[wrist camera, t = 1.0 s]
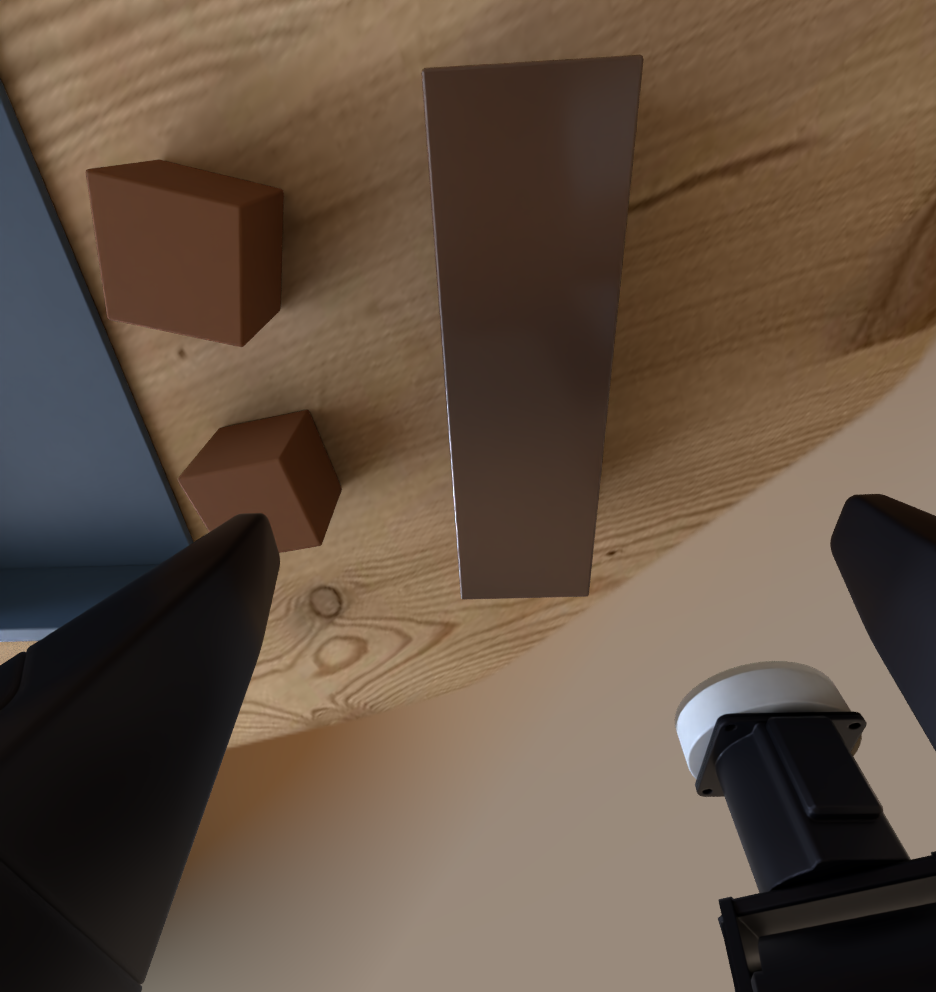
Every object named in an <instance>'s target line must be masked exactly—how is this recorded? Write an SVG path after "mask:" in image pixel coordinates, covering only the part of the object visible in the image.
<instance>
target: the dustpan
mask: <svg viewBox="0 0 936 992" xmlns="http://www.w3.org/2000/svg"><path fill="white" fill-rule="evenodd" d="M192 543H193V540H192V537H191V535H190V533H189V530H188V528H187V525H186V523H185V521H184V518H183V516H182V513H181V511H180V509H179V506H178V504H177V501H176V499H175V497H174V494H173V492H172V489H171V487H170V485H169V482H168V480H167V477H166V475H165V473H164V470H163V468H162V465H161V463H160V461H159V458H158V456H157V453H156V451H155V449H154V446H153V444H152V441H151V439H150V437H149V434H148V432H147V429H146V427H145V425H144V422H143V420H142V417H141V415H140V413H139V410H138V408H137V405H136V403H135V401H134V398H133V396H132V393H131V391H130V388H129V386H128V384H127V381H126V379H125V376H124V374H123V372H122V369H121V367H120V364H119V362H118V360H117V357H116V355H115V352H114V350H113V348H112V345H111V343H110V340H109V338H108V336H107V333H106V331H105V328H104V326H103V324H102V321H101V319H100V316H99V314H98V312H97V309H96V307H95V304H94V302H93V300H92V297H91V295H90V292H89V290H88V288H87V285H86V283H85V280H84V278H83V276H82V273H81V271H80V268H79V266H78V264H77V261H76V259H75V256H74V254H73V252H72V249H71V247H70V244H69V242H68V240H67V237H66V235H65V232H64V230H63V227H62V225H61V223H60V220H59V218H58V215H57V213H56V211H55V208H54V206H53V203H52V201H51V199H50V196H49V194H48V191H47V189H46V187H45V184H44V182H43V179H42V177H41V175H40V172H39V170H38V167H37V165H36V163H35V160H34V158H33V155H32V153H31V151H30V148H29V146H28V143H27V141H26V139H25V136H24V134H23V131H22V129H21V127H20V124H19V122H18V119H17V117H16V115H15V112H14V110H13V107H12V105H11V103H10V100H9V98H8V95H7V93H6V91H5V88H4V86H3V83H2V81H1V79H0V642H13V641H39V640H41V639H43V638H44V637H46V636H47V635H49V634H50V633H52V632H54V631H55V630H57V629H58V628H60V627H61V626H63V625H65V624H66V623H68V622H69V621H71V620H72V619H74V618H76V617H77V616H79V615H80V614H82V613H83V612H85V611H87V610H88V609H90V608H91V607H93V606H94V605H96V604H98V603H99V602H101V601H102V600H104V599H105V598H107V597H109V596H110V595H112V594H113V593H115V592H116V591H118V590H120V589H121V588H123V587H124V586H126V585H127V584H129V583H131V582H132V581H134V580H135V579H137V578H138V577H140V576H142V575H143V574H145V573H146V572H148V571H149V570H151V569H152V568H154V567H156V566H157V565H159V564H160V563H162V562H163V561H165V560H167V559H168V558H170V557H171V556H173V555H174V554H176V553H178V552H179V551H181V550H182V549H184V548H185V547H187V546H189V545H190V544H192Z"/></svg>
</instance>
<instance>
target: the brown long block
mask: <svg viewBox="0 0 936 992" xmlns="http://www.w3.org/2000/svg"><path fill="white" fill-rule="evenodd" d="M642 69H643V56H641V55H630V56H614V57H597V58H581V59H565V60H548V61H532V62H516V63H499V64H483V65H466V66H450V67H434V68H424V69H422V86H423V99H424V113H425V126H426V139H427V153H428V166H429V179H430V192H431V206H432V219H433V232H434V245H435V259H436V272H437V285H438V299H439V312H440V325H441V338H442V352H443V365H444V378H445V391H446V405H447V418H448V431H449V445H450V458H451V471H452V484H453V498H454V511H455V524H456V537H457V551H458V564H459V577H460V591H461V598H462V599H499V598H540V597H582V596H588V595H589V587H590V577H591V567H592V558H593V548H594V538H595V528H596V519H597V509H598V499H599V489H600V479H601V470H602V460H603V450H604V440H605V431H606V421H607V411H608V401H609V391H610V382H611V372H612V362H613V352H614V343H615V333H616V323H617V313H618V303H619V294H620V284H621V274H622V264H623V255H624V245H625V235H626V225H627V215H628V206H629V196H630V186H631V176H632V166H633V157H634V147H635V137H636V127H637V118H638V108H639V98H640V88H641V78H642Z"/></svg>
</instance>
